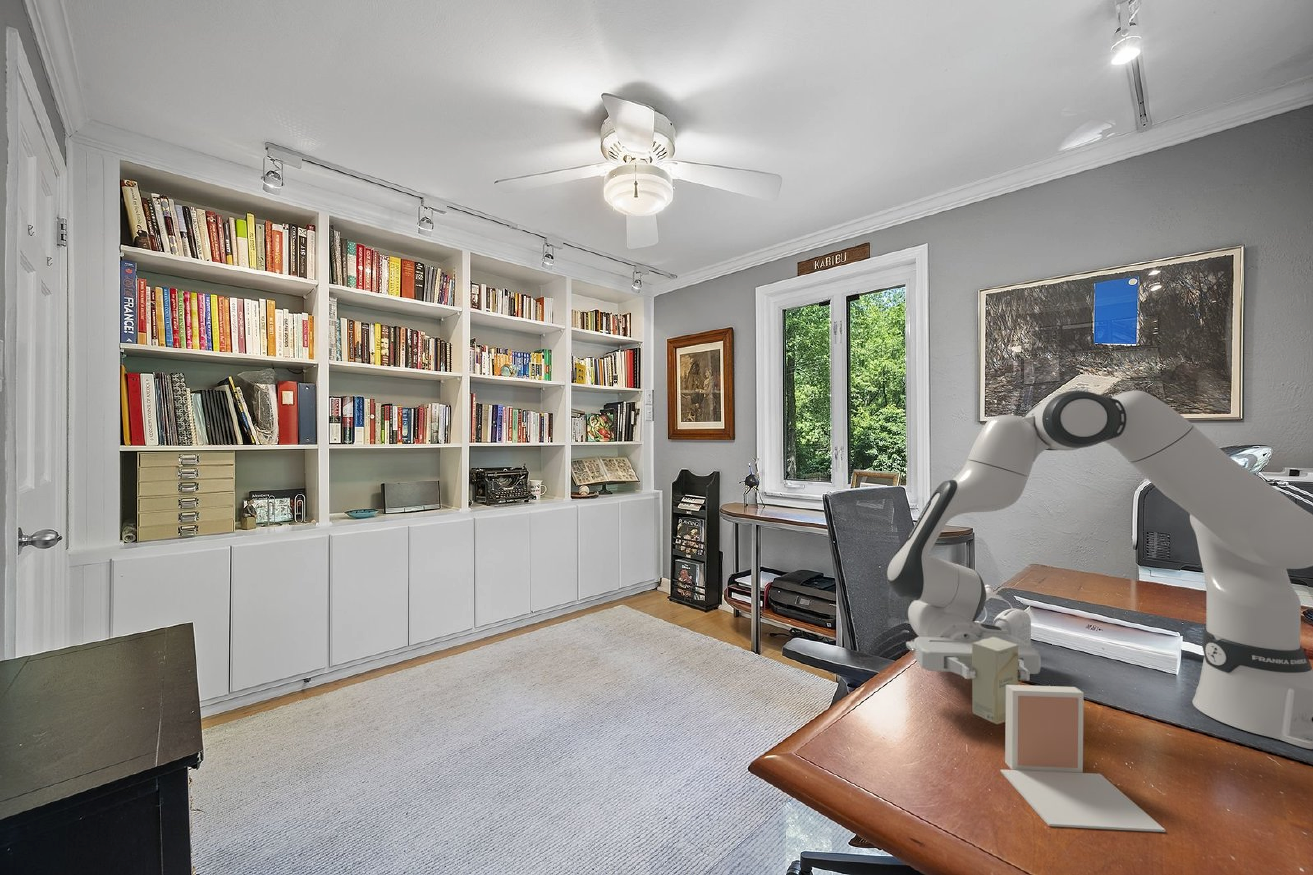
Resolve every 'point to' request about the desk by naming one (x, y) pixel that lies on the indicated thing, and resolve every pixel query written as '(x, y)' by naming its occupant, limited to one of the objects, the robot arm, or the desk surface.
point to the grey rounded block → (1015, 624)
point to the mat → (1079, 801)
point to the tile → (1044, 728)
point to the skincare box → (993, 677)
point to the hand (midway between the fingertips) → (998, 675)
